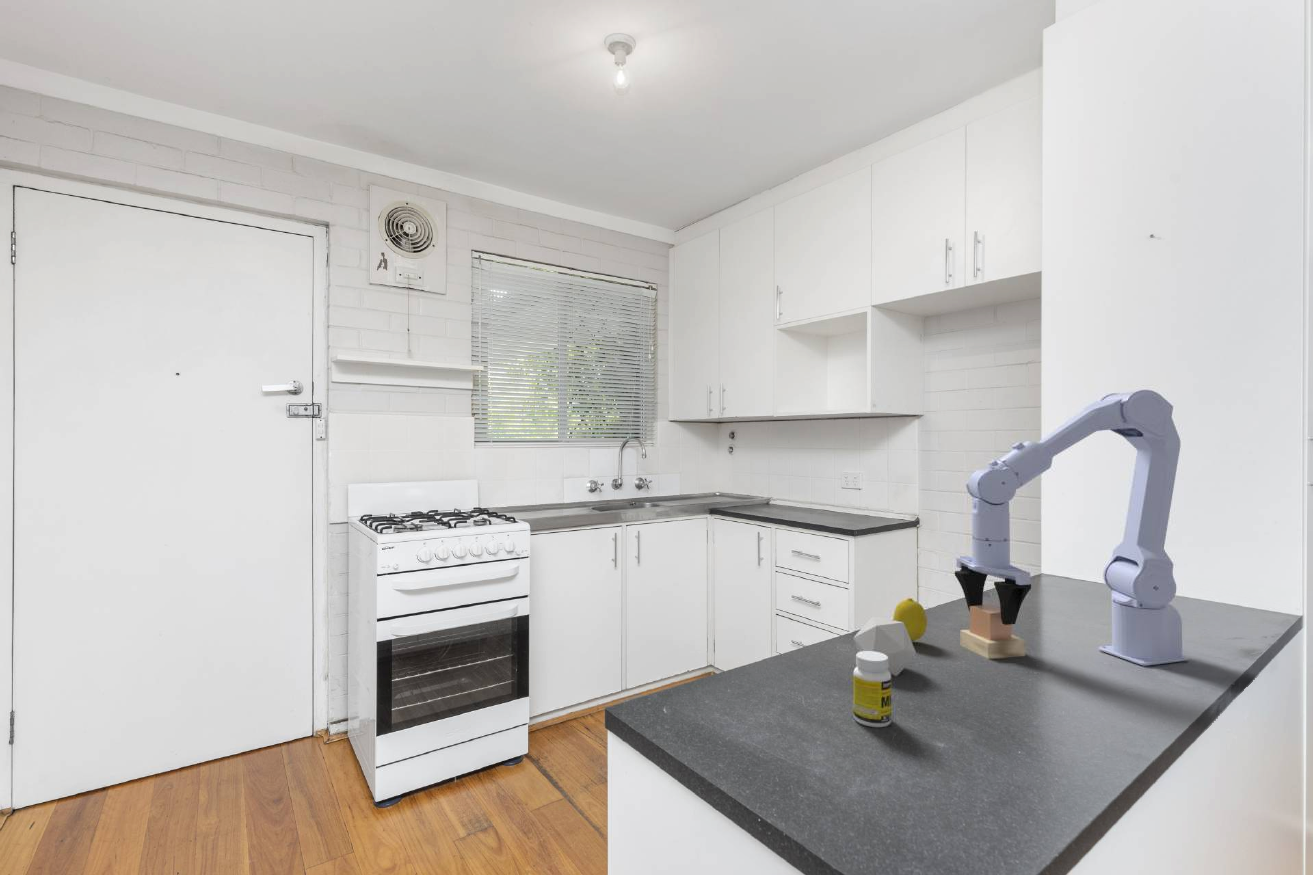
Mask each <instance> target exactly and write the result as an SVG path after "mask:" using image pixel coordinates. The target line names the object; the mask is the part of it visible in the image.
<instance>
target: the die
mask: <svg viewBox="0 0 1313 875" xmlns="http://www.w3.org/2000/svg"><path fill="white" fill-rule="evenodd" d="M853 642H854V644H855V646H856V648H857V651H858V652H861V651H874V652H880V653H883V654H885V655H886V656H888V664H889V667H888V671H889V672H890V674H891V676H894V677H898V675H899V674H900V673H902V671H903V670H904V669H905V667H906V666H908V664H909V663H910V661H911V660H913V658H914V657H915V655H916V654H917V652H916V649H915V646H914V645H913V644H914V643H913V642H911V639H910V637H909V634H908V632H907V629H906V627H905V624H904V622H899V621H894V619H889V618H883V617H879V616H871V618H870V619H869V620H868V621H867V622H866V623H865V624H864V625H863V626H862V628H861V629H860V630H859V631H858V632H857V633H856V634H855V635H854V637H853Z"/></svg>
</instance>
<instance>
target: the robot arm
mask: <svg viewBox="0 0 1313 875" xmlns="http://www.w3.org/2000/svg"><path fill="white" fill-rule="evenodd" d="M1173 410H1174V405H1172V404H1171V403H1170V402H1169V401H1168V400H1167V399H1165V397H1163V396H1162V395H1161V394H1160V393H1158V392H1156V391H1154V390H1151V389H1139V390H1137V391H1136V390H1135V391H1131V392H1130V391H1129V392H1122V393H1119V392H1118V393H1115V392H1114V393H1109V394H1106V395H1104V396H1103V397H1101V398H1100V399H1099V400H1096V401H1094V402H1092V403H1090V404H1088V405H1087V406H1086V407H1085V408H1083V409H1082V410H1081V411H1079V412H1078V413H1076V414H1075V415H1073V417H1071V418H1070V419H1068V420H1067V421H1065V422H1064V423H1063V424H1062V425H1060V426H1058V427H1057V428H1056V429H1054V430H1053V431H1052V432H1050V433H1049V434H1047V435H1046V436H1045V437H1043V438H1042V439H1041V440H1039V441H1032V440H1026V441H1024V442H1016V443H1015V444H1013V445H1012V446H1011V447H1012V450H1011V451H1009V452H1008V453H1005V455H1003V456H1002V457H999V459H997V460H995V459H992V460H990V461H989V462H988V466H989V468H980V469H978V470H976V471H974V472H973V473H972V474H971V475H970V478H969V479H968V483H966V484H965V486H966V490H967V492H968V494H969V495H970V496H971V497H972V500H971V501H972V503H971V504H972V511H971V521H972V522H971V527H972V529H971V533H972V534H971V535H972V536H971V537H972V540H971V542H972V543H971V546H972V552H971V553H972V555H971V556H972V557H971V556H967V555H961V556H956V558H955V559H956V568H959V569H960V570H955V571H954V576H955V578H956V579H957V581H958V583H959V585H960V587H961V589H962V592H963V595H964V599H965V602H966V605H967V606H966V607H967V609H968V612H969V613H970V606H978V605H984V604H983V601H984V590H985V585H986V581H987V579H988V578H987V577H988V576H992V577H995V578H999V579H1002V580H1003V581H994V582H993V585H994V587H995V589H996V593H997V596H998V602H999V607H1000V611H1001V620H1002V624H1005V625H1010V624H1012V625H1016V622H1017V619H1018V615H1019V612H1020V609H1021V607H1022V604H1023V602H1024V599H1025V598H1026V596H1027V595H1028V593H1029V592H1030V590H1031V589H1032V584H1031V572H1029V571H1026V570H1023V569H1020V568H1018V567H1016V566H1014V565H1012V564H1011V541H1010V540H1011V538H1010V537H1011V536H1010V532H1011V530H1010V524H1011V519H1010V513H1011V512H1010V501H1011V500H1013V498H1014V497H1015V495H1016V492H1017V490H1019V489H1020V488H1022V487H1023V486H1025V485H1026V484H1028V483H1029V482H1031V481H1032V480H1034V479H1036V478H1037V477H1038V476H1040V475H1042V474H1044V473H1045V472H1047V470H1049V469H1050V468H1051V467H1052V464H1053V459H1054V457H1055V456H1057V455H1059V454H1060V453H1062V452H1064V451H1066V450H1067V449H1069V448H1070V447H1073V446H1074V445H1076V444H1077V443H1079V442H1081V441H1083V440H1084V439H1086V438H1087V437H1089V436H1091V435H1092V434H1094V433H1096V432H1100V431H1101V432H1102V431H1111V432H1113V433H1116V434H1118V435H1120V436H1122V437H1123V438H1124V439H1125V440H1126V441H1127V442H1128V443H1129V444H1130V445H1131V446H1132V447H1133V448H1135V450H1136V456H1135V457H1136V458H1135V464H1134V470H1133V476H1132V481H1131V488H1130V494H1129V501H1128V508H1127V514H1126V519H1125V520H1126V521H1125V526H1124V531H1123V537H1122V538H1123V539H1122V541H1121V542H1120V543H1119V544H1118V545H1116V547H1114V549H1113V550H1112V555H1111V558H1110V560H1109V562H1108V563H1107V564H1106V565H1105V567H1104V569H1103V573H1102V577H1103V581H1104V583H1105V586H1107V588H1109V590H1111V645H1105V646H1098V650H1099V651H1100V652H1101V651H1102V652H1104V653H1106V654H1110V655H1112V656H1114V657H1117V658H1121V659H1123V660H1126V661H1129V662H1132V663H1134V664H1137V665H1141V666H1152V665H1161V664H1169V663H1170V664H1171V663H1177V662H1185V661H1189V658H1188V656H1185V655H1183V621H1182V616H1181V614H1180V613H1179V611H1178V609H1177V608H1175V606H1173V605H1172V604H1170V603H1171V602H1172V601H1173V599H1174V598H1175V596H1176V594H1177V583H1176V580H1175V578H1174V574H1173V572H1174V562H1173V561H1172V559H1171V558H1170V556H1169V554H1168V553H1167V552H1166V550H1165V544H1166V537H1167V532H1168V525H1169V519H1170V512H1171V507H1172V500H1173V493H1174V488H1175V483H1176V482H1175V481H1176V475H1177V468H1178V463H1179V457H1180V451H1181V439H1180V436H1179V433H1178V430H1177V428H1176V426H1175V422H1174V420H1173V417H1172V416H1173Z"/></svg>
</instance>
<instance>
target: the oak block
mask: <svg viewBox="0 0 1313 875" xmlns="http://www.w3.org/2000/svg"><path fill="white" fill-rule="evenodd" d="M959 632H960V634H959V635H960V638H959V639H960V640H959V642H960V646H962V647H963V648H965V649H967V650H969V651H972V652H974V653H975V654H978V655H979V656H981V657H983V658H986V659H988V660H989V659H1002V658H1003V659H1004V658H1005V659H1006V658H1015V657H1018V656H1019V657H1025V656H1026V640H1025V639H1022V638H1020V637H1018V636H1016V635H1014V634H1012V637H1011V638H1003V639H995V640H989V639H986V638H984V637H981V636H979V635H976V634H974V633H971V632H970V629H961V630H960V631H959Z"/></svg>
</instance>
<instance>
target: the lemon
mask: <svg viewBox="0 0 1313 875" xmlns="http://www.w3.org/2000/svg"><path fill="white" fill-rule="evenodd" d="M893 620H894V621H899V622H904V624H905V627H906V629H907V632H908V634H909V637H910V639H911V642H912V643H913V642H915V641H916V640H919V639H921V638H922V637H923V636H924V634H925V632H926V630H927V626H928V618H927V615H926V610H925V609H924V607H923V606H922V604H920V603H919V602H917V601H915V600H914V599H913V598H911V597H908V598H907V599H904V600H902V601H900V602H899V603H898V604H897V605H896V607H895V608H894V614H893Z"/></svg>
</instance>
